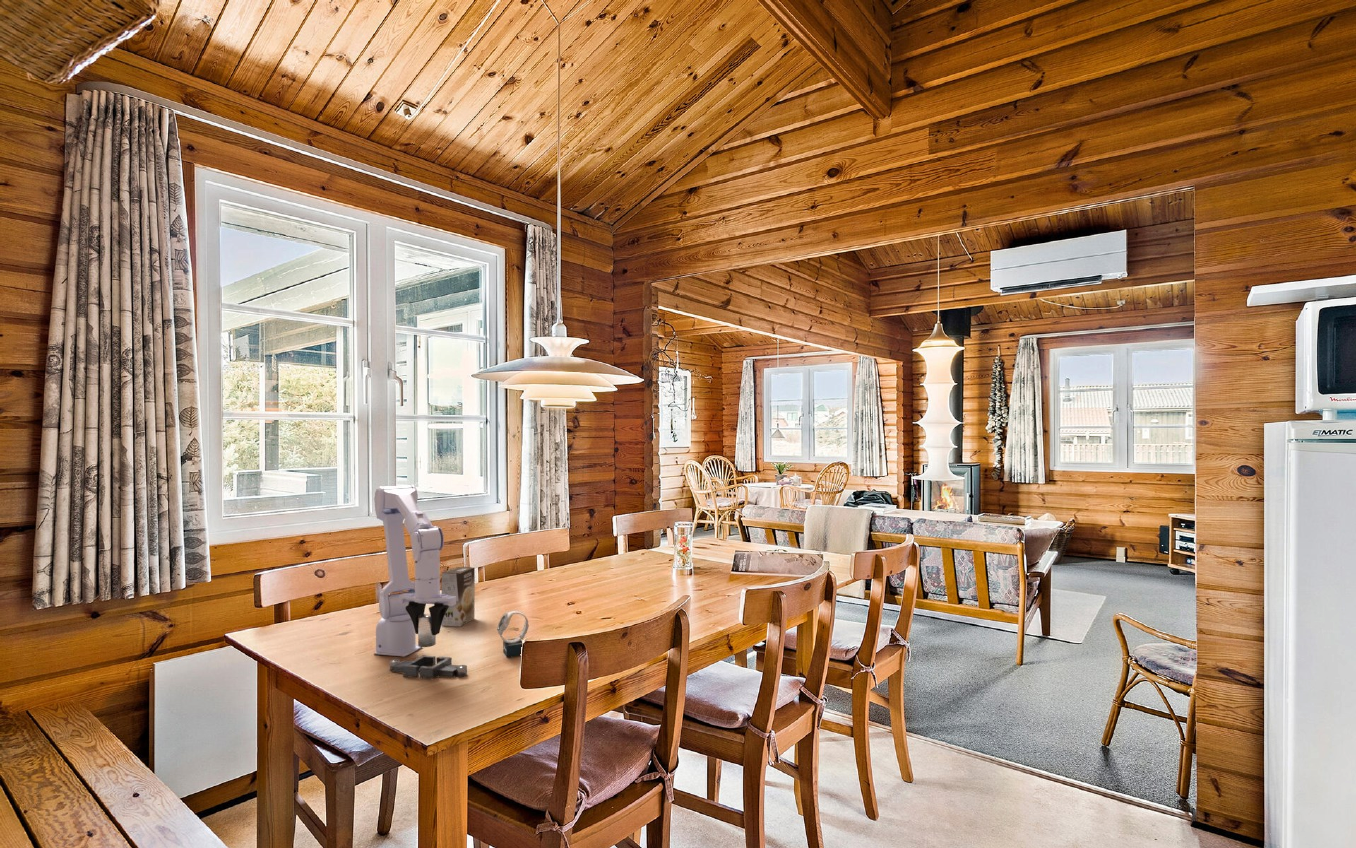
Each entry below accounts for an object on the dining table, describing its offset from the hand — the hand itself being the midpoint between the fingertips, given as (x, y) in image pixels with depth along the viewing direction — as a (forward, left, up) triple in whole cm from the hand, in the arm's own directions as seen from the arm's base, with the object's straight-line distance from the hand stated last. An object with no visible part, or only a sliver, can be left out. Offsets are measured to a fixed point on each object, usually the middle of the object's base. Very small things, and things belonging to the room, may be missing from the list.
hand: (427, 633), depth 168 cm
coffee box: (-16, +40, -10) cm, 44 cm away
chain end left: (-5, 0, -9) cm, 11 cm away
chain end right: (+5, 0, -9) cm, 11 cm away
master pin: (0, 0, -3) cm, 3 cm away
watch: (+14, +17, -10) cm, 24 cm away
